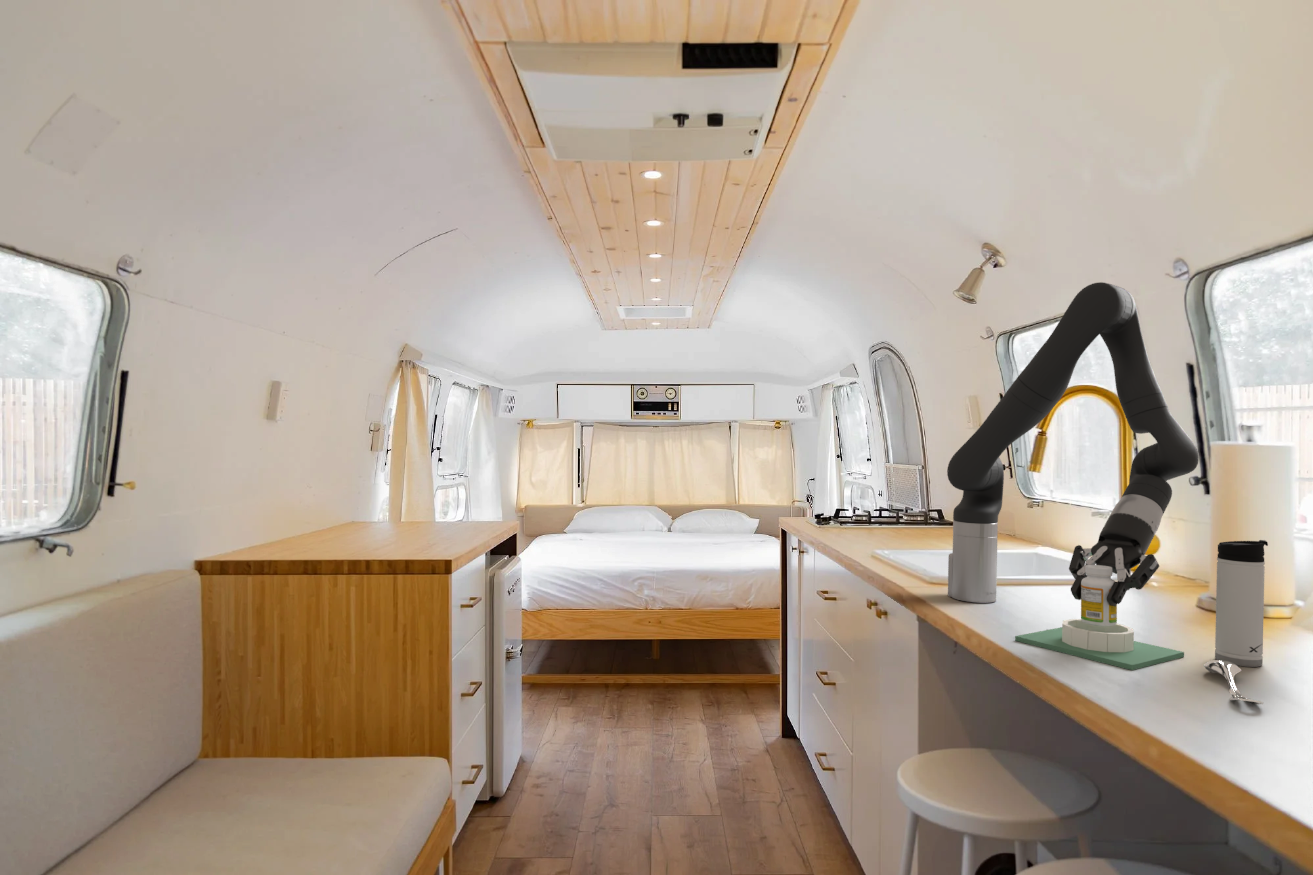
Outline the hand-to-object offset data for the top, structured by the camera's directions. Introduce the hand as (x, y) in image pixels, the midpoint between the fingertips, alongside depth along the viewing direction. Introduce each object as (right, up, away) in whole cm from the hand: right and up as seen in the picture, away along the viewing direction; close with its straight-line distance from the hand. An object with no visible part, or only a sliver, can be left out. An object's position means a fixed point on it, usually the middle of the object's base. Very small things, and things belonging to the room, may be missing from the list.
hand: (1093, 599), depth 135 cm
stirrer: (+9, -9, -21) cm, 25 cm away
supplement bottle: (+1, -4, +1) cm, 5 cm away
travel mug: (+21, -9, -6) cm, 23 cm away
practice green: (+1, -9, +1) cm, 9 cm away
